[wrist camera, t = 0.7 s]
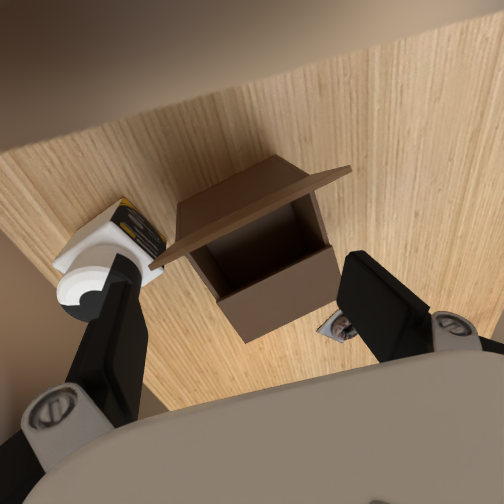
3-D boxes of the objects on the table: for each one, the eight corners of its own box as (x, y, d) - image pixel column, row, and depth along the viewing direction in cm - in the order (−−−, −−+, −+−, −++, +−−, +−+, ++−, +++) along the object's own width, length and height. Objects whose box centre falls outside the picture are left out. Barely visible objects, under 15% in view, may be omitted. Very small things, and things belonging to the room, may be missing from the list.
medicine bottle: (168, 240, 33) (162, 304, 23) (123, 271, 34) (99, 346, 24) (124, 195, 29) (93, 248, 19) (75, 231, 30) (21, 300, 20)
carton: (176, 204, 31) (174, 246, 22) (276, 154, 31) (313, 176, 22) (231, 289, 39) (245, 344, 30) (310, 250, 39) (347, 295, 30)
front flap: (176, 247, 22) (174, 242, 22) (313, 178, 22) (311, 174, 22) (150, 271, 15) (147, 265, 15) (352, 171, 15) (350, 164, 15)
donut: (340, 343, 52) (346, 351, 50) (315, 330, 48) (320, 339, 46) (372, 314, 50) (379, 322, 48) (348, 299, 46) (355, 307, 44)
